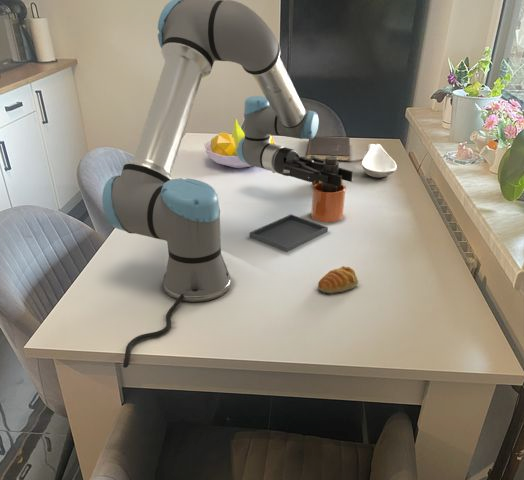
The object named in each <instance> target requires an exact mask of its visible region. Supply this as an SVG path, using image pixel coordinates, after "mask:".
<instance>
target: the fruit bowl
mask: <svg viewBox="0 0 524 480" xmlns="http://www.w3.org/2000/svg"><path fill="white" fill-rule="evenodd" d="M233 121H234V125H233V128H232V133H231V134H230V133H227V132H223V131H221V132H220V133H218V134H217V135H215V136H214V137H212V138H211V139H210V140H209V141H207V142H205V143H203V145H204V150H205V153H206V155H207V157H208V158H210V159H211V160H212V161H214V162H215V163H216V164H220V165H223V166H227V167H231V168H234V169H243V168H248V167H249V168H250V167H253V166H252V165H249V164H247V163H244V162H242V161H241V160H240V159H239V158H238V155H237V148H238V146H239V145H238V144H239V142H240V140H241V139H243V138H244V137H245V131H244V130H243V129H242V128H241V126H240V124H239V123H238V119H237V118H235V119H234V120H233ZM269 143H271V144H275V145H278V144H277V142H276V141H275V140H274V138H273V136H272V134H270V138H269Z"/></svg>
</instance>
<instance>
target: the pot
mask: <svg viewBox="0 0 524 480" xmlns="http://www.w3.org/2000/svg"><path fill="white" fill-rule="evenodd" d="M321 185H322V182H319V184H315V185H312V198H311V218H312V219H313V220H315V221H317V222H320V223H321V222H322V223H337V222H340V221H341V220H342V219H343V218H344V208H345V207H344V206H345V199H346V198H345V197H346V186H345V185H344V184H343V185H342V184H341V186H340V187H338V186H337V192H322V191H321Z"/></svg>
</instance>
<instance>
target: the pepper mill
mask: <svg viewBox="0 0 524 480" xmlns="http://www.w3.org/2000/svg"><path fill="white" fill-rule="evenodd" d="M339 168H340V162H339V161H337V157H334V156H328V157H326V160H325V162H323V171H326V172H329V173H333V174H336V175H338V172H339ZM321 191H322V192H337V186H335V185H332V184H328V183H325V182H322V185H321Z"/></svg>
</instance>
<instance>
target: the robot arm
mask: <svg viewBox="0 0 524 480" xmlns="http://www.w3.org/2000/svg"><path fill="white" fill-rule="evenodd" d="M157 30H158V33H157V40H158V44H159V47H160V48H161V51H160V52H161V55H162V58H163V60H164V64H163V67H162V69H161V73H160V75H159V79H158V82H157V86H156V89H155V91H154V95H153V98H152V100H151V103H150V107H149V110H148V112H147V117H146V119H145V123H144V126H143V129H142V131H141V134H140V137H139V140H138V144H137V147H136V150H135V153H134V156H133V159H132V160H130V161H128V162H125V163H124V164H123V166H122V169H121V173H120V174H116V175H114V176H111V177H110V178H108V179H107V181H106V183H105V184H104V186H103V190H102V197H101V203H102V210H103V211H104V216H105V218H106V220H107V221H108V223H109V224H110V226H112V227H114V229H117V230H119V231H123V232H126V233H127V234H135V235H139V236H145V237H148V238H152V239H157V240H161V241H165V242H166V243H167V253H168V259H167V265H166V269H165V273H164V276H163V289H164V292H165V294H167V295H168V296H169V297H170V298H172V299H175V302H174V303H173V304H172V305H171V307H170V308H169V310H168V311H167V312H166V314H165V315H166V316H165V321H166V325H165V327H163V328H162V329H159V330H157V331H152V332H147V333H143V334H140V335H137V336H135V337H134V338H133V339H131V340H130V341H129V342H128V343H127V345H126V346H125V350H124V351H125V352H124V358H123V364H122V367H123V368H128V367H129V363H130V357H131V351H132V347H133V346H134V345H135V344H137V343H138V342H140V341H143V340H145V339H150V338H157V337H159V336H162V335H165V334H166V333H168V331H169V330H170V329H171V327H172V320H171V317H172V314H173V312H174V311H175V310H176V308H177V307H178V306H179V305H180V303H181V302H187V303H202V302H209V301H212V300H216V299H218V298H220V297H221V296H223V295H225V294H226V293H228V291H229V290H230V288H231V275H230V272H229V270H228V267H227V265H226V262H225V260H224V257H223V254H222V240H221V207H220V203H219V196H218V193H217V191H216V190H215V189H214V187H212V185H210V184H208V183H207V182H205V181H202V180H198V179H194V178H188V177H187V178H179V177H178V178H173V177H172V174H171V173H172V171H173V169H174V165H175V162H176V159H177V157H178V152H179V150H180V147H181V143H182V140H183V137H184V135H185V131H186V128H187V125H188V121H189V118H190V115H191V112H192V110H193V106H194V102H195V100H196V97H197V94H198V90H199V87H200V84H201V81H202V78H206V77H208V76H209V75H210V74H211V72H212V70H213V67H214V63H215V61H216V62H217V61H218V62H231V63H235V64H238V65H239V66H241V67H242V69H243V70H244V71H245V72H246V73H247V74H249V75H251V76H253V78H254V81H255V82H256V84H257V85H258V87H259V88H260V90H261V92H262V94H263V95H264V96H263V95H253V96H248V97H247V98H245V100H244V111H243V117H244V122H243V123H244V134H245V137H244V138H243V139H241V140H240V142H239V144H238V145H239V146H238V148H237V155H238V158H239V159H240V160H241V161H242V162H244V163H247V164H249V165H252V166H251V167H256V168H260V169H263V170H267V171H270V172H272V173H273V174H275V173H276V174H279V175H282V176H286V177H291V178H295V179H298V180H301V181H305V182H308V183H312V182H313V180H315V184H319V180H320V181H322V182H325V183H328V184H332V185H335V186H338V187H340V186H341V180H343V181H346V182H350V183H351V182H353V175H354V171H353V170H349V169H347V168H343V167H339V172H338V175H336V174H333V173H329V172H326V171H323V162H325V160H323V159H319V158H317V157H315V156H311V158H310V159H307V158H306V156H300V155H299V154H298V152H297V150H295V149H293V148H289V147H285V146H283V145H278V144H277V145H275V144H271V143H269V138H270V135H271V136H272V135H273V136H280V137H286V138H294V139H299V140H309V139H313V138H314V137H315V136H316V135H317V132H318V130H319V122H320V120H319V115H318V113H317V112H316V111H314V110H310V109H306V108H305V107H304V104H303V102H302V100H301V98H300V97H299V94H298V92H297V90H296V88H295V86H294V83H293V81H292V79H291V77H290V75H289V73H288V71H287V69H286V67H285V64H284V63H283V60H282V58H281V57H280V56H281V45H280V43H279V41H278V39H277V37H276V35H275V33H274V32H273V30H272V29H271V27H270V26H269V25H268V23H266V21H265V20H264V19H263V18H262V17H261V16H260V15H259V14H257V12H255V10H253V9H252V8H250V7H248V6H247V5H245V4H243V3H242V2H239V1H237V0H170V1H169V2H167V3H166V5H165V6H164V7H163V9H162V10H161V12H160V15H159V18H158V21H157Z"/></svg>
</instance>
